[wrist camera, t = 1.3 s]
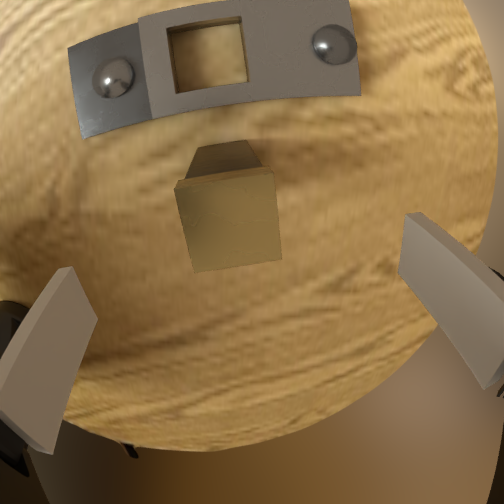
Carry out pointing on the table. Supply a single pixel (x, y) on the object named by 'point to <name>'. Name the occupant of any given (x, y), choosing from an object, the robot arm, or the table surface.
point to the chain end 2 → (259, 52)
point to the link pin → (228, 208)
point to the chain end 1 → (115, 79)
